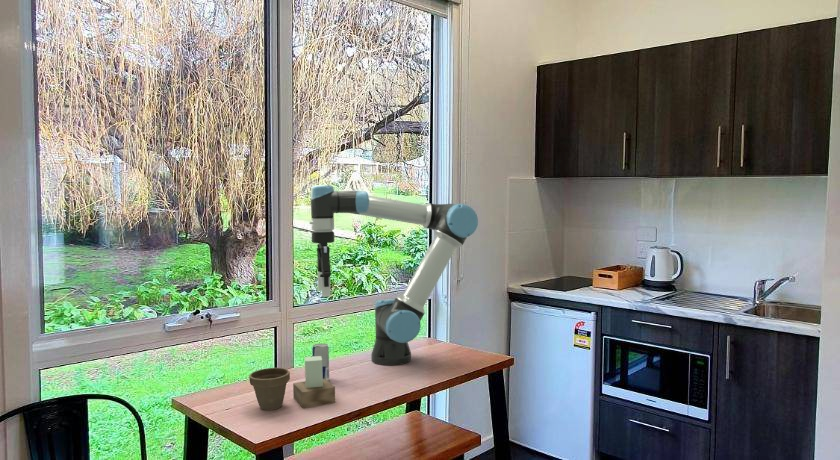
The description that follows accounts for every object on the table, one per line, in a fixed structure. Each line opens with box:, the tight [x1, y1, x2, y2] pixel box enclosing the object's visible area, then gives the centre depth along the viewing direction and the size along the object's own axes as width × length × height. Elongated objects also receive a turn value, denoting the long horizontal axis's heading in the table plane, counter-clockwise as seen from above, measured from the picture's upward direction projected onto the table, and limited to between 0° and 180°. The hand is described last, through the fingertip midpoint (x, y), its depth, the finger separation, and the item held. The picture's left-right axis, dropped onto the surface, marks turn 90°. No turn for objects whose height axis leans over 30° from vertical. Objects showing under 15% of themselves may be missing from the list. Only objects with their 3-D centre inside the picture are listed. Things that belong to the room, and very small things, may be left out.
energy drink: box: [311, 343, 330, 382], centre depth 199 cm, size 5×5×12 cm
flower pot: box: [248, 367, 291, 411], centre depth 174 cm, size 12×11×10 cm
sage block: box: [304, 356, 323, 388], centre depth 180 cm, size 5×5×8 cm
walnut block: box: [292, 378, 336, 409], centre depth 180 cm, size 10×10×5 cm
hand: (324, 293), depth 202 cm, fingers open, 13 cm apart
